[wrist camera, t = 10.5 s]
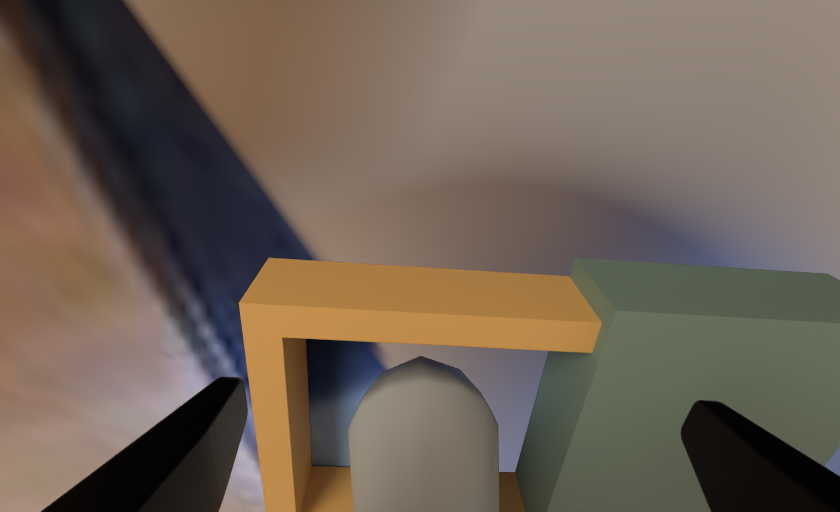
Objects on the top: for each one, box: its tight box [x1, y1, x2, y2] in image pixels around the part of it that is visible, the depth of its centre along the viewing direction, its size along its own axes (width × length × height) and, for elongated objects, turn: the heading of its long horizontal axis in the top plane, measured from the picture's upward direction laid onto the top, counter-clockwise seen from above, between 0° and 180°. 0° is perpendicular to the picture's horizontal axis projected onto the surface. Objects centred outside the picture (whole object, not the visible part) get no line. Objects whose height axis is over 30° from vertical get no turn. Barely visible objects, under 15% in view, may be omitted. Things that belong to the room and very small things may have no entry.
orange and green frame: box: [239, 258, 840, 512], centre depth 17 cm, size 14×21×4 cm, turn 85°
